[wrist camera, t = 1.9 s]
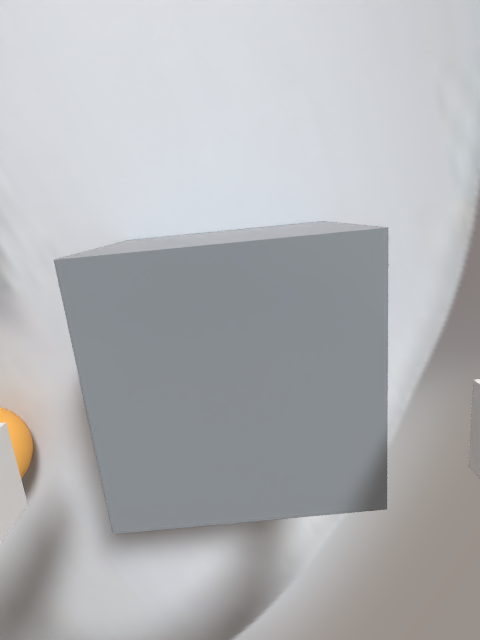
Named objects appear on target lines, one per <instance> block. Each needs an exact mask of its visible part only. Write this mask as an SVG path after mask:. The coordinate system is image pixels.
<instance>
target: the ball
mask: <svg viewBox="0 0 480 640" xmlns="http://www.w3.org/2000/svg"><path fill="white" fill-rule="evenodd" d="M5 422H6V424H7V427H8V431H9V435H10V439H11V442H12V446H13V450H14V454H15V457H16V461H17V465H18V469H19V472H20V476H21V479H22V478H23V476H24V475H25V473H26V472H27V469H28V467H29V465H30V463H31V459H32V455H33V440H32V436H31V433H30V430H29V428H28V427H27V425H26V424H25V422H24V421H23V420H22V419H21V418H20V417H19V416H17V415H16V414H15V413H13V412H11V411H9V410H7V409H4V408H1V407H0V423H5Z"/></svg>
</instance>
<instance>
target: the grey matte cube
mask: <svg viewBox="0 0 480 640" xmlns="http://www.w3.org/2000/svg"><path fill="white" fill-rule="evenodd" d="M54 264H55V268H56V273H57V277H58V282H59V287H60V291H61V296H62V301H63V305H64V310H65V314H66V319H67V324H68V328H69V333H70V338H71V342H72V347H73V351H74V356H75V361H76V365H77V370H78V374H79V379H80V384H81V388H82V393H83V398H84V402H85V407H86V411H87V416H88V421H89V425H90V430H91V435H92V439H93V444H94V448H95V453H96V458H97V462H98V467H99V472H100V476H101V481H102V485H103V490H104V495H105V499H106V504H107V508H108V513H109V518H110V522H111V527H112V532H113V534H121V533H132V532H143V531H154V530H165V529H176V528H187V527H198V526H209V525H220V524H231V523H242V522H253V521H264V520H275V519H286V518H297V517H308V516H319V515H330V514H341V513H352V512H362V511H374V510H385V509H387V391H388V227H378V226H367V225H357V224H347V223H337V222H327V221H321V222H310V223H300V224H290V225H279V226H269V227H259V228H248V229H238V230H228V231H217V232H207V233H197V234H186V235H176V236H166V237H155V238H145V239H135V240H126V241H123V242H119V243H115V244H111V245H108V246H104V247H100V248H96V249H93V250H89V251H85V252H81V253H78V254H74V255H70V256H66V257H63V258H59V259H55V260H54Z"/></svg>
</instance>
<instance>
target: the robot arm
mask: <svg viewBox="0 0 480 640" xmlns="http://www.w3.org/2000/svg"><path fill="white" fill-rule="evenodd" d="M471 417H472V418H471V433H470V450H469V468H470V469H471V470H472V471H473V472H474V473H475V474H476V475H477V476H478V477H479V478H480V379H477V380H473V397H472V414H471ZM27 506H28V503H27V499H26V495H25V491H24V488H23V484H22V480H21V476H20V472H19V469H18V465H17V461H16V457H15V454H14V450H13V446H12V442H11V439H10V435H9V431H8V427H7V424H6V422H5V423H0V544H1V542H2V541H3V540H4V538H5V537H6V536H7V534H8V533H9V531H10V530H11V529H12V527H13V526H14V524H15V523H16V522H17V520H18V519H19V518H20V516H21V515H22V513H23V512H24V511H25V509H26V508H27Z"/></svg>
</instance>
